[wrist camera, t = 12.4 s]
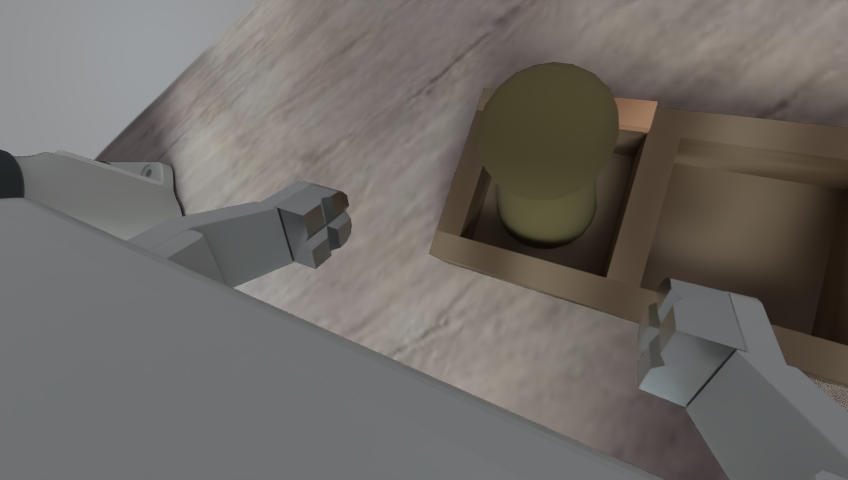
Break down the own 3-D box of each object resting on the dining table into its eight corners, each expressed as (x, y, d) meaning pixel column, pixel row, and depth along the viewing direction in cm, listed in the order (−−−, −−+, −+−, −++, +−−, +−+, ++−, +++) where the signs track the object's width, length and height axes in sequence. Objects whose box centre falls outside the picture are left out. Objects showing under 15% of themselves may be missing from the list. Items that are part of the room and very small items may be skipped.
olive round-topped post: (524, 145, 23) (506, 17, 13) (615, 179, 21) (679, 55, 11) (480, 223, 23) (430, 155, 13) (568, 266, 21) (588, 223, 11)
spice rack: (445, 262, 25) (426, 252, 21) (494, 114, 26) (484, 77, 22) (831, 384, 17) (918, 405, 13) (878, 167, 18) (973, 124, 14)
